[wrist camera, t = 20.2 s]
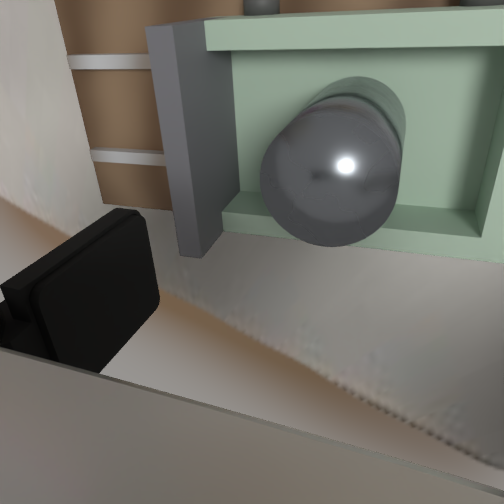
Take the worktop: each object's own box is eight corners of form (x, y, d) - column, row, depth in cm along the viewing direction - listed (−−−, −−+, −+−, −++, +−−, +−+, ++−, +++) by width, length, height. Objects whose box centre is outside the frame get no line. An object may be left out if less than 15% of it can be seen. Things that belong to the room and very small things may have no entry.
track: (601, -50, 18) (633, -57, 16) (515, 238, 26) (527, 268, 23) (62, -12, 27) (21, -12, 24) (110, 198, 34) (83, 217, 31)
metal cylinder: (412, 76, 20) (407, 117, 14) (399, 178, 23) (390, 254, 16) (306, 76, 22) (256, 113, 15) (305, 171, 24) (262, 239, 18)
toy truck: (552, -26, 18) (623, -33, 12) (486, 233, 25) (509, 320, 18) (219, -6, 23) (139, -4, 16) (234, 209, 29) (182, 271, 23)
